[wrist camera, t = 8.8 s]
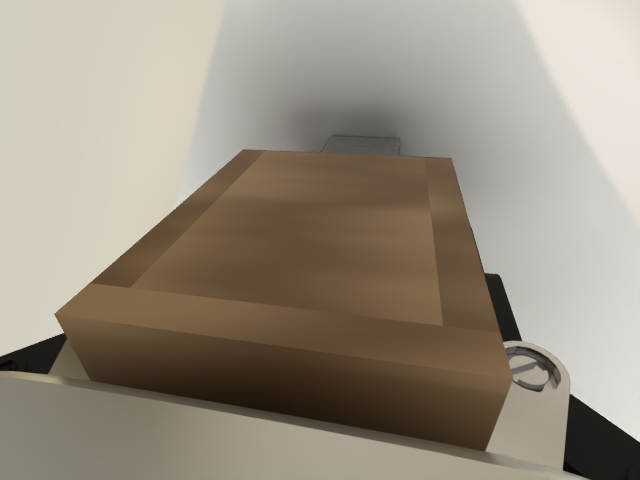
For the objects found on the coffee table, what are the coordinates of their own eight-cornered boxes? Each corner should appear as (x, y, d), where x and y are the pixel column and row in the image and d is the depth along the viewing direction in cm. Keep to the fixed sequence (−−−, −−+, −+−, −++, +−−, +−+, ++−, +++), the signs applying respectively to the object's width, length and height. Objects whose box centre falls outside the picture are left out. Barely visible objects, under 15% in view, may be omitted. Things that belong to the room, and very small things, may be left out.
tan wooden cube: (451, 158, 10) (513, 378, 4) (423, 319, 13) (436, 576, 7) (243, 149, 11) (53, 314, 5) (264, 300, 14) (161, 510, 8)
